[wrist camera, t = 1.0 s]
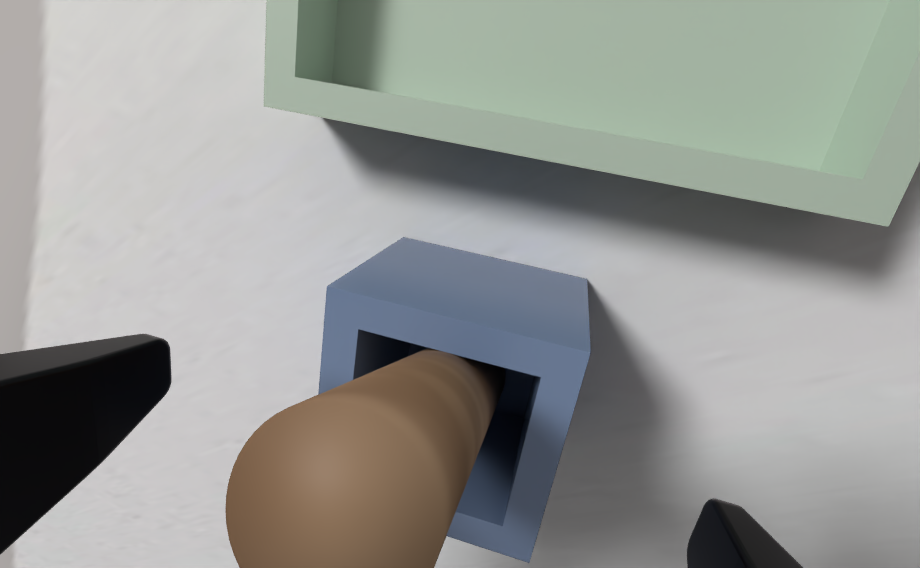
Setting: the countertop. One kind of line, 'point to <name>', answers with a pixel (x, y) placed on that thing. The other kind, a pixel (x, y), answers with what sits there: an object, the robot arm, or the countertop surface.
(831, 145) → the sage tray
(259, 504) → the walnut dowel
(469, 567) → the countertop surface
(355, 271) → the slate blue cup
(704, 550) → the robot arm
